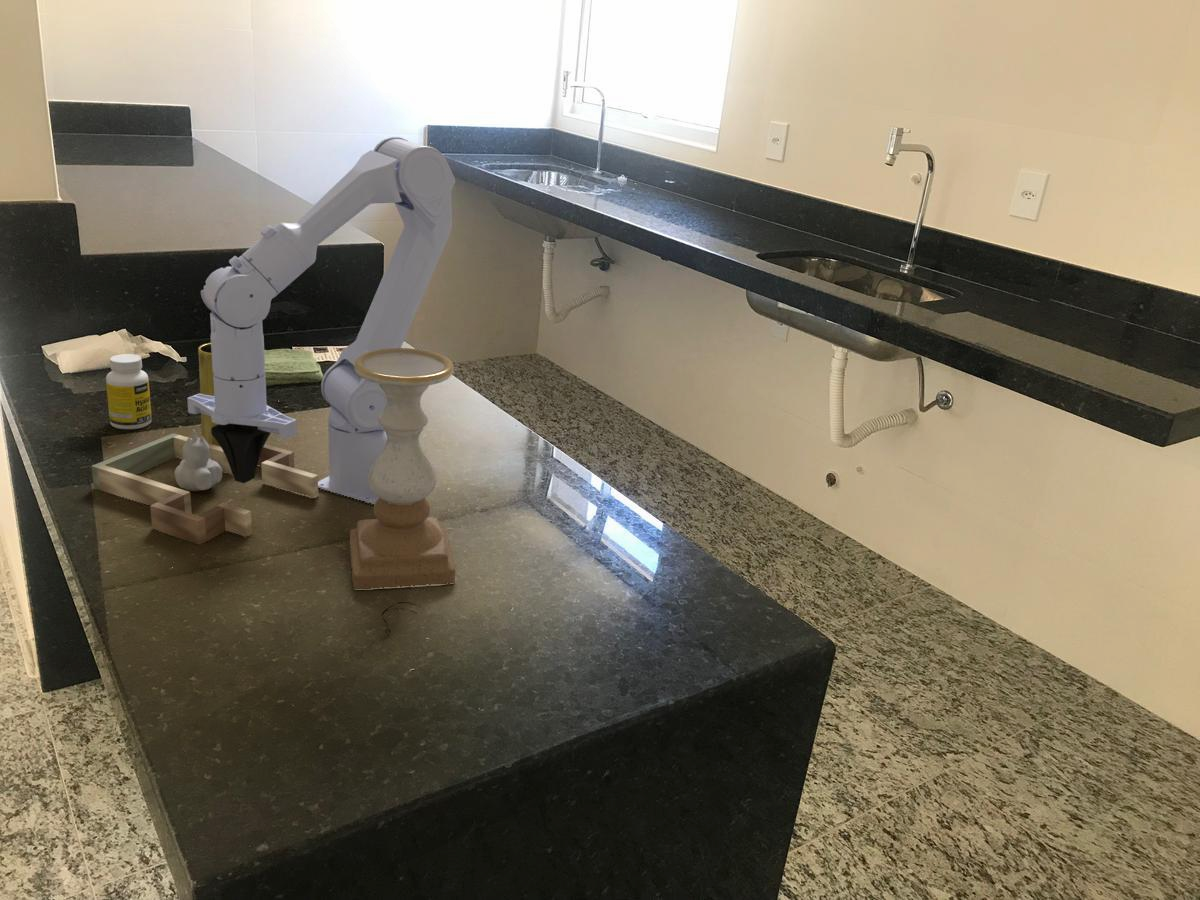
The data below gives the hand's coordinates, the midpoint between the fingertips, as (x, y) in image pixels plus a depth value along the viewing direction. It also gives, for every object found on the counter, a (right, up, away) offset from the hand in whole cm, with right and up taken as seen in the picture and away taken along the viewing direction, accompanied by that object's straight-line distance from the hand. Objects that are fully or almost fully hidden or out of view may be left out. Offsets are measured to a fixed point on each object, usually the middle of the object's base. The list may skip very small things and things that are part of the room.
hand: (244, 479), depth 118 cm
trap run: (-6, -2, +3) cm, 7 cm away
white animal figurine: (-7, -2, +4) cm, 8 cm away
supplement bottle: (-24, +7, +21) cm, 32 cm away
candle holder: (+21, -9, -8) cm, 24 cm away
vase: (-9, +4, +16) cm, 19 cm away
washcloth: (-13, +16, +45) cm, 49 cm away
